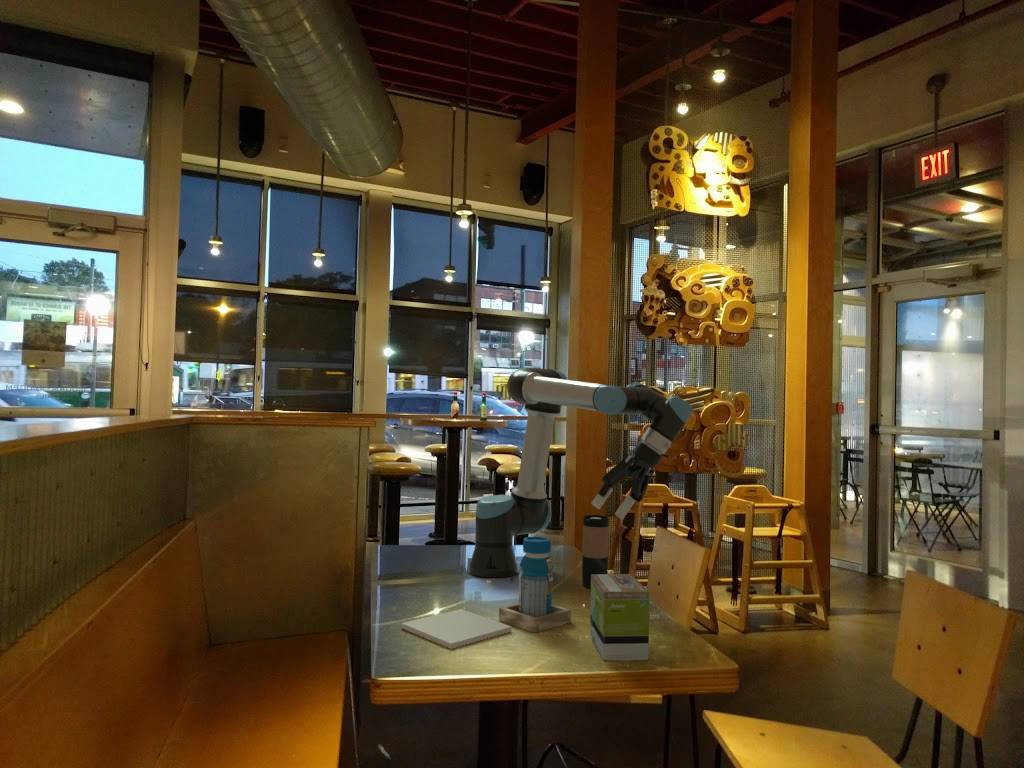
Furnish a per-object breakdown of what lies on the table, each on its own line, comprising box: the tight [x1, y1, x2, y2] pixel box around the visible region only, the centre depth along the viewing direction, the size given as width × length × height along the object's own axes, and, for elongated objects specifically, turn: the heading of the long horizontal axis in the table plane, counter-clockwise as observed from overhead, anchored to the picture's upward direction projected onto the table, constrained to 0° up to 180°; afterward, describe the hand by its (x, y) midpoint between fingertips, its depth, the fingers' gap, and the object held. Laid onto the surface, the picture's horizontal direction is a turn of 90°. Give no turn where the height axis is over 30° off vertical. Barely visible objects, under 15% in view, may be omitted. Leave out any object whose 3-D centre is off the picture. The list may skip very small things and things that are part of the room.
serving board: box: [401, 608, 512, 650], centre depth 164 cm, size 18×18×1 cm
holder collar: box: [498, 602, 572, 634], centre depth 173 cm, size 12×12×3 cm
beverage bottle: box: [518, 536, 554, 618], centre depth 173 cm, size 8×8×20 cm
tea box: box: [589, 573, 650, 662], centre depth 155 cm, size 15×10×15 cm, turn 5°
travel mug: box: [581, 514, 610, 588], centre depth 210 cm, size 8×8×20 cm
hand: (606, 512), depth 193 cm, fingers open, 13 cm apart
